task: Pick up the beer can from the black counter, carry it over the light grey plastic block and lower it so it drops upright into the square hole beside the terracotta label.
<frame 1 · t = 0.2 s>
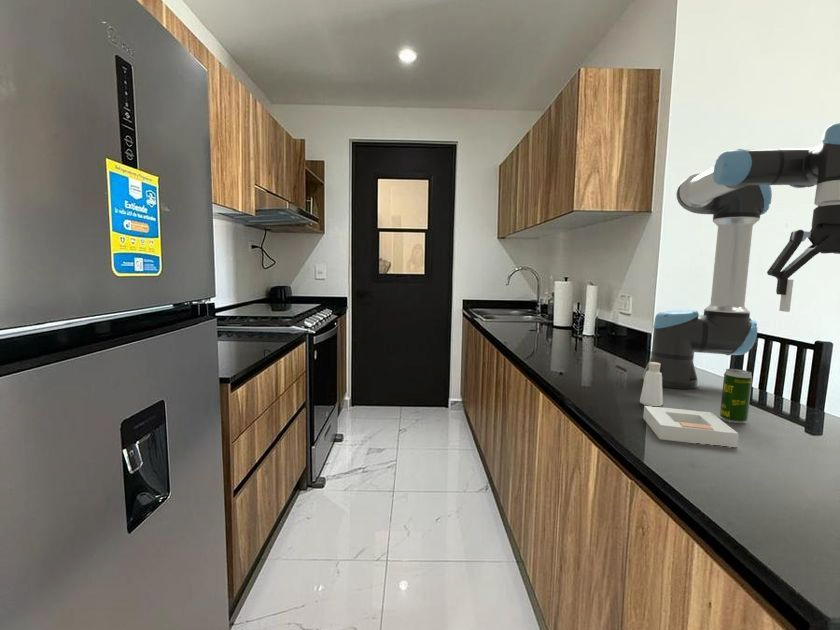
hand: (825, 313, 89), 27 cm above the table, tool pointing down, fingers open, 13 cm apart
beer can: (732, 421, 106), on the table
salt shaker: (650, 404, 118), on the table
socket block: (685, 431, 97), on the table
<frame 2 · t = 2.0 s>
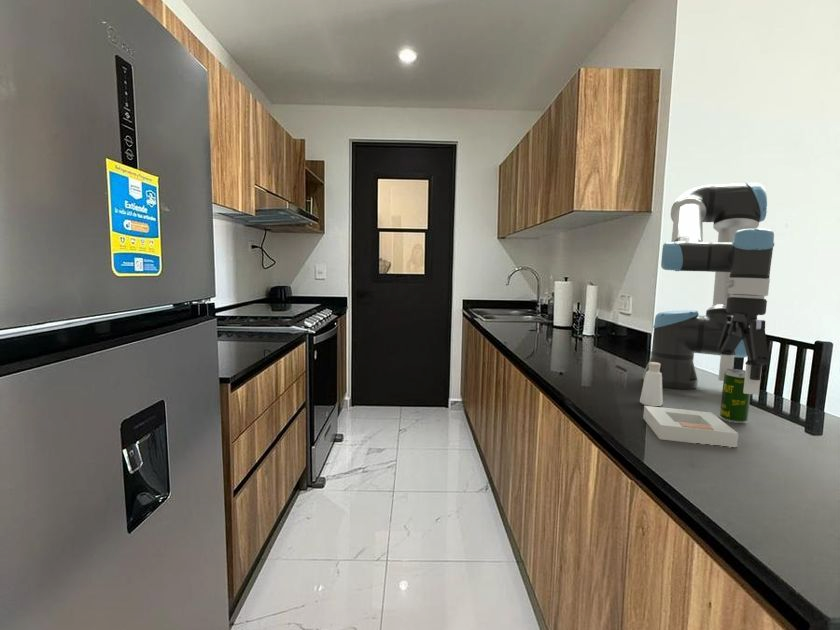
hand: (737, 387, 105), 8 cm above the table, tool pointing down, fingers open, 13 cm apart
nothing on the table moved.
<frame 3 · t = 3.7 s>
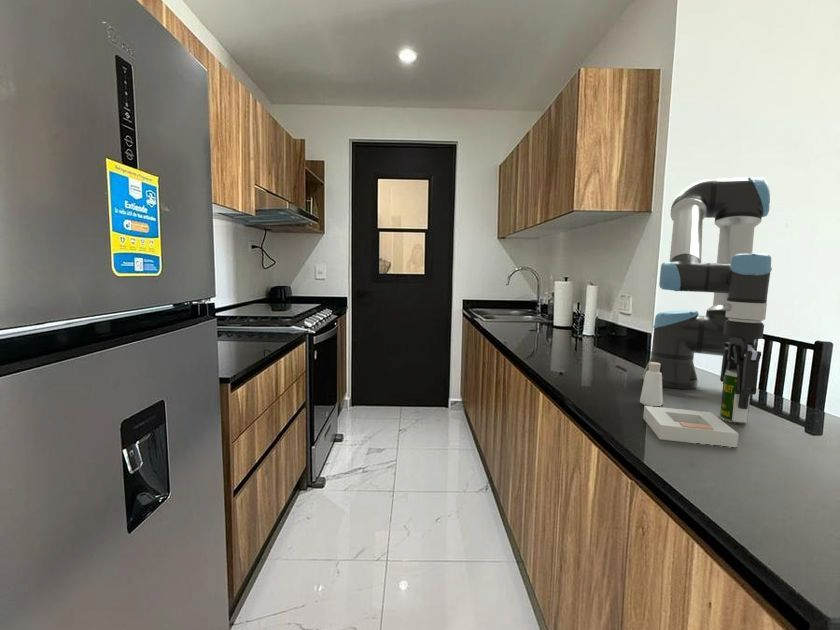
hand: (733, 417, 106), 1 cm above the table, tool pointing down, fingers closed on beer can, 5 cm apart
beer can: (733, 421, 106), on the table, touching gripper
everything else where it was.
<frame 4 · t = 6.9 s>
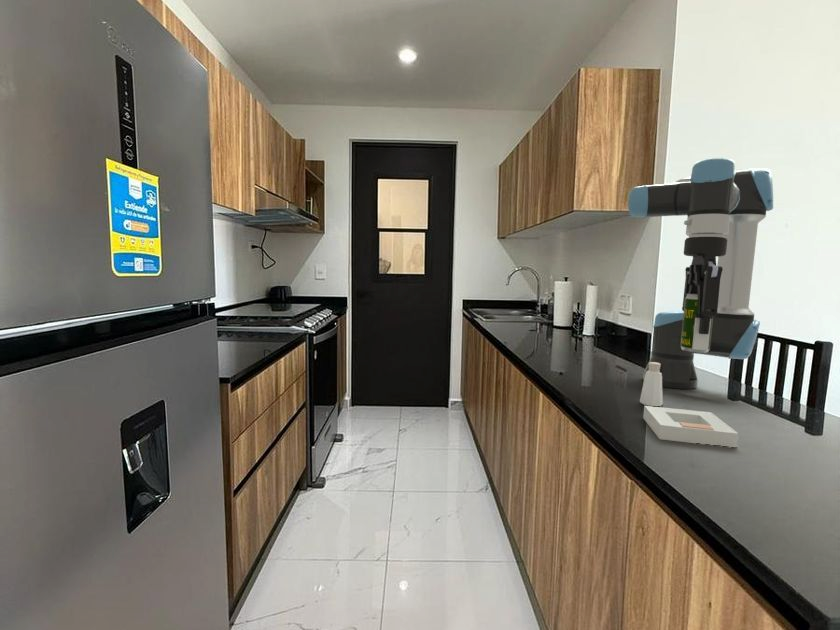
hand: (694, 346, 95), 19 cm above the table, tool pointing down, fingers closed on beer can, 5 cm apart
beer can: (694, 351, 95), point 18 cm above the table, touching gripper
everything else where it was.
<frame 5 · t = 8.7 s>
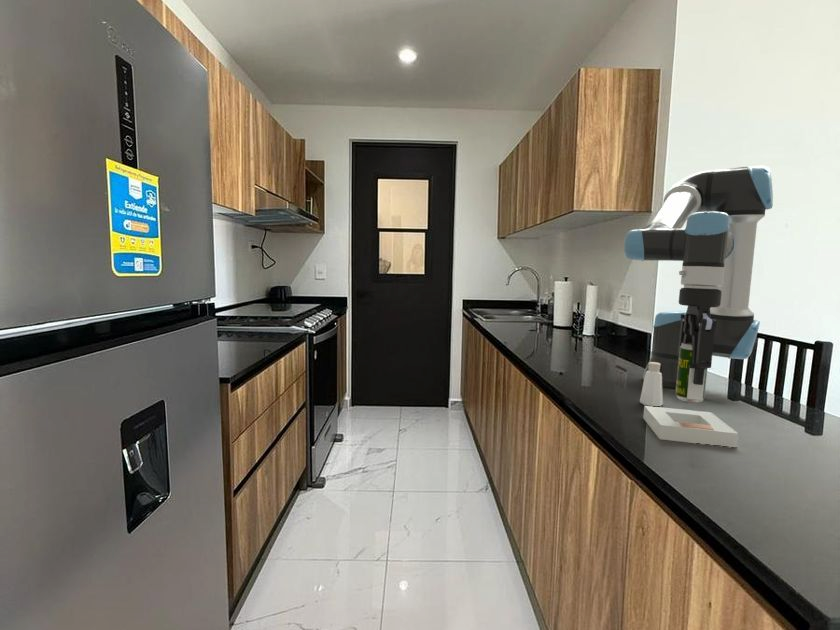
hand: (689, 395, 96), 8 cm above the table, tool pointing down, fingers closed on beer can, 5 cm apart
beer can: (689, 400, 96), point 7 cm above the table, touching gripper
everything else where it was.
when the fingers open (5 cm above the table, at t = 10.1 s): beer can drops 4 cm, resting in socket block.
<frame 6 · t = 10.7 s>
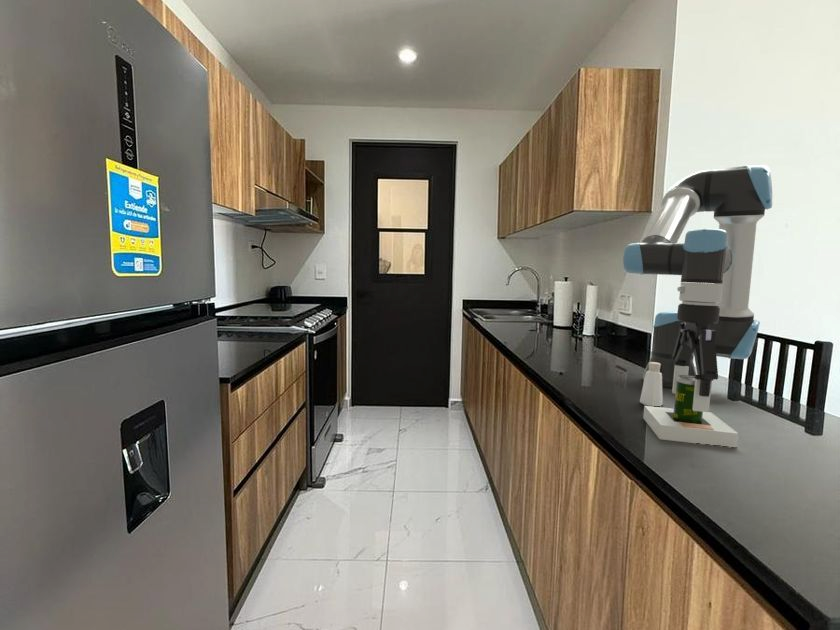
hand: (689, 401, 96), 7 cm above the table, tool pointing down, fingers open, 13 cm apart
beer can: (686, 432, 97), resting in socket block
everything else where it was.
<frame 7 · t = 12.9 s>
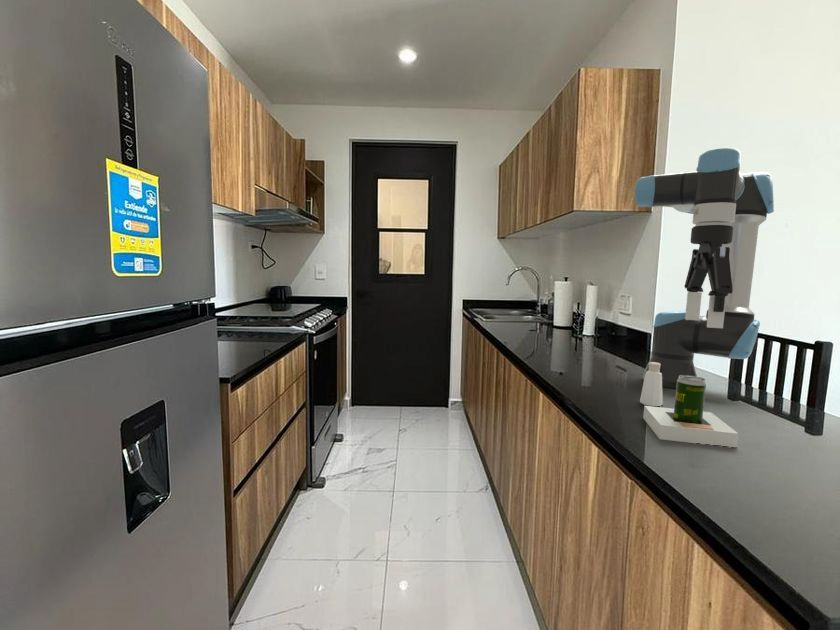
hand: (702, 323, 98), 23 cm above the table, tool pointing down, fingers open, 13 cm apart
nothing on the table moved.
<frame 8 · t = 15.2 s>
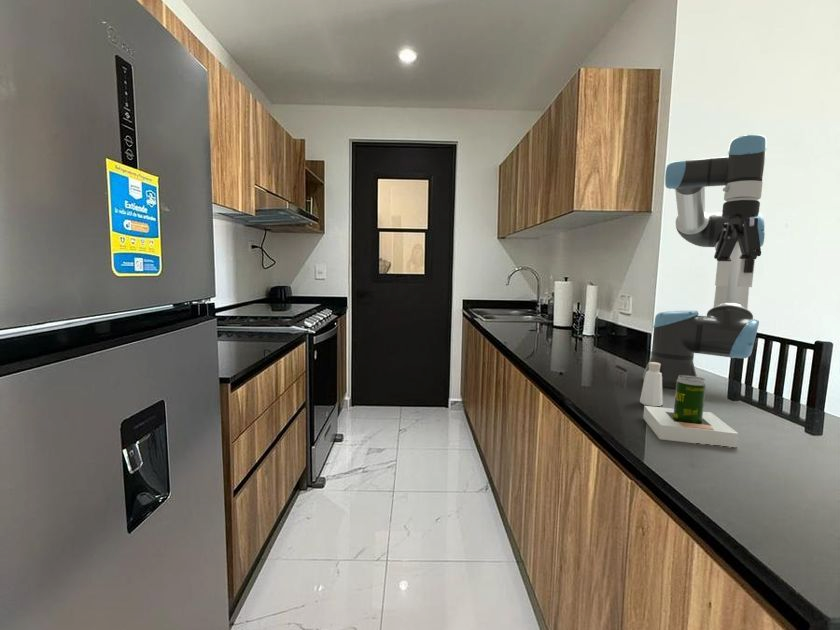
hand: (732, 286, 113), 32 cm above the table, tool pointing down, fingers open, 13 cm apart
nothing on the table moved.
at the end: beer can 0.0 cm off-centre on the socket block, point 0.0 cm above the socket block's base; beer can tilted 0°; the gripper is holding nothing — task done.
